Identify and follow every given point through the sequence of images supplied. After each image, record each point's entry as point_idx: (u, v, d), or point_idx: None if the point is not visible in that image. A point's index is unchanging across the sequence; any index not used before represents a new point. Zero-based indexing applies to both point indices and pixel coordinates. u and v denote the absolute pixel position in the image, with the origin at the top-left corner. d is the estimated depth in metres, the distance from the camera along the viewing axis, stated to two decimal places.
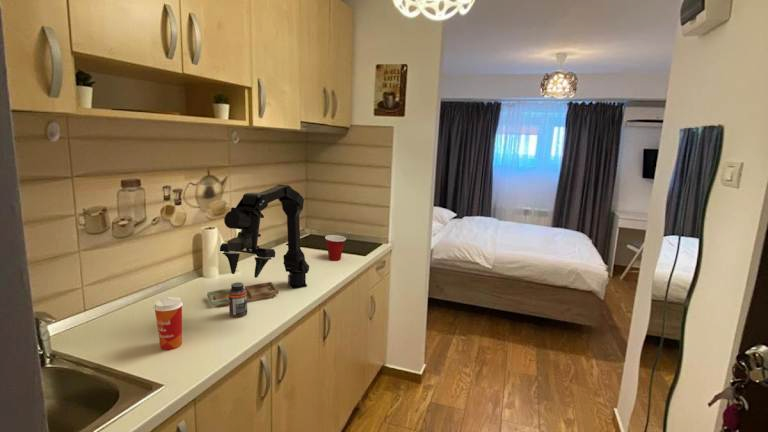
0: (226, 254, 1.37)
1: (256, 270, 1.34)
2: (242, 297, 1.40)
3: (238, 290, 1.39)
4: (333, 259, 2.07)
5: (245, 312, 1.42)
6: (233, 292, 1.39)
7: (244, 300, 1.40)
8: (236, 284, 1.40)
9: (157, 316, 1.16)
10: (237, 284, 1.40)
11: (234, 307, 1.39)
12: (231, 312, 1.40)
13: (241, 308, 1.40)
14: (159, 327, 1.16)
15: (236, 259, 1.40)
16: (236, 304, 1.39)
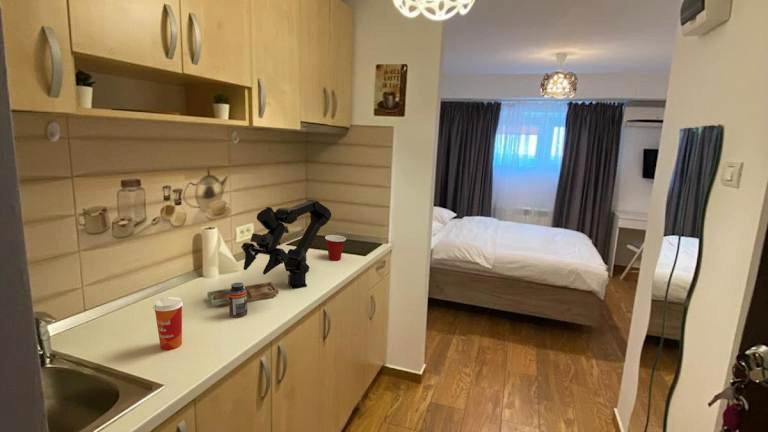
0: (246, 250, 1.51)
1: (266, 266, 1.46)
2: (242, 297, 1.40)
3: (238, 290, 1.39)
4: (333, 259, 2.07)
5: (245, 312, 1.42)
6: (233, 292, 1.39)
7: (244, 300, 1.40)
8: (236, 284, 1.40)
9: (157, 316, 1.16)
10: (237, 284, 1.40)
11: (234, 307, 1.39)
12: (231, 312, 1.40)
13: (241, 308, 1.40)
14: (159, 327, 1.16)
15: (252, 259, 1.53)
16: (236, 304, 1.39)
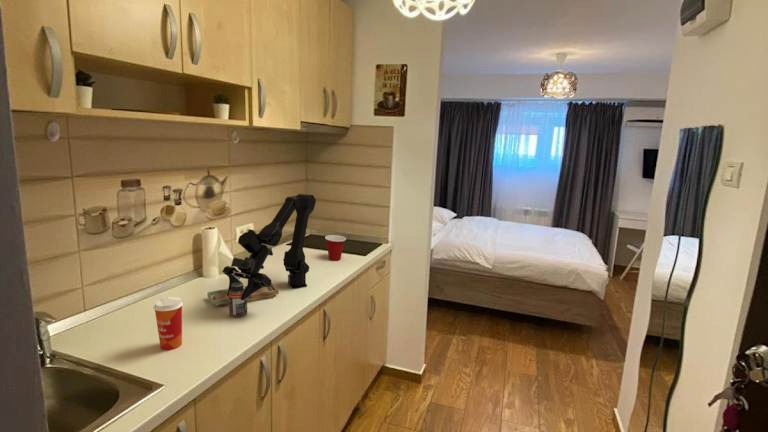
0: (230, 275, 1.43)
1: (245, 292, 1.39)
2: None
3: (238, 290, 1.39)
4: (333, 259, 2.07)
5: (245, 312, 1.42)
6: (233, 292, 1.39)
7: (244, 300, 1.40)
8: (236, 284, 1.40)
9: (157, 316, 1.16)
10: (237, 284, 1.40)
11: (234, 306, 1.39)
12: (231, 312, 1.40)
13: (241, 308, 1.40)
14: (159, 327, 1.16)
15: None
16: (236, 304, 1.39)
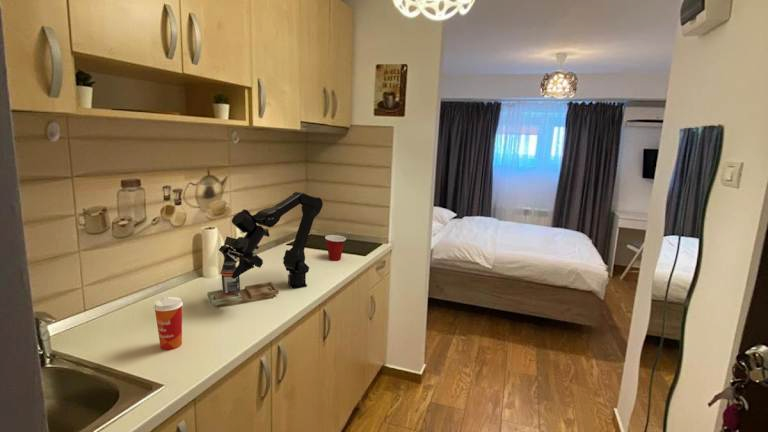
0: (224, 254, 1.46)
1: (235, 271, 1.41)
2: None
3: (230, 269, 1.41)
4: (333, 259, 2.07)
5: (237, 291, 1.43)
6: (224, 270, 1.41)
7: (235, 279, 1.42)
8: (228, 263, 1.42)
9: (157, 316, 1.16)
10: (229, 263, 1.42)
11: (225, 285, 1.41)
12: (223, 290, 1.42)
13: (233, 287, 1.42)
14: (159, 327, 1.16)
15: None
16: (227, 282, 1.41)
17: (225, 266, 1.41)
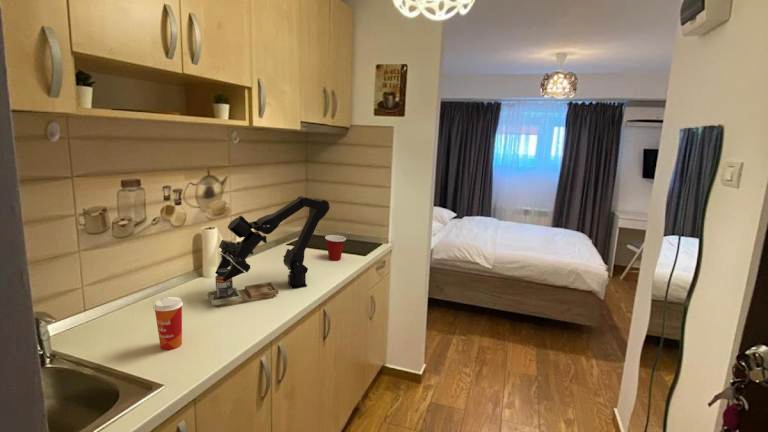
0: (221, 255, 1.57)
1: (226, 274, 1.48)
2: (224, 282, 1.50)
3: (221, 275, 1.50)
4: (333, 259, 2.07)
5: (228, 297, 1.52)
6: (217, 276, 1.50)
7: (226, 285, 1.50)
8: (222, 269, 1.52)
9: (157, 316, 1.16)
10: (223, 269, 1.51)
11: (217, 290, 1.51)
12: None
13: (223, 293, 1.51)
14: (159, 327, 1.16)
15: (227, 265, 1.57)
16: (219, 287, 1.50)
17: (218, 272, 1.50)
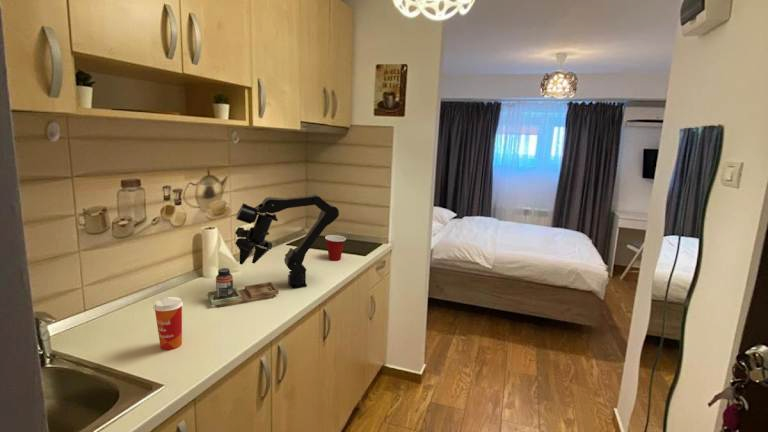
0: None
1: None
2: (225, 282, 1.50)
3: (222, 275, 1.50)
4: (333, 259, 2.07)
5: (228, 297, 1.52)
6: (217, 276, 1.50)
7: (226, 285, 1.51)
8: (223, 269, 1.52)
9: (157, 316, 1.16)
10: (223, 269, 1.51)
11: (217, 290, 1.51)
12: None
13: (224, 293, 1.51)
14: (159, 327, 1.16)
15: (260, 253, 1.66)
16: (219, 287, 1.50)
17: (218, 272, 1.50)
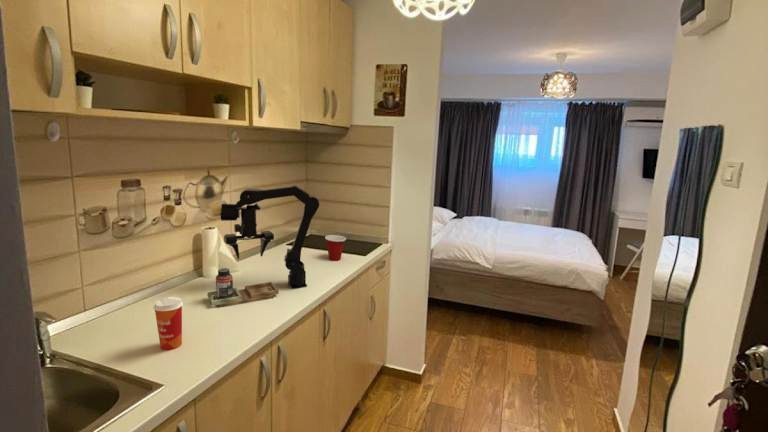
0: None
1: None
2: (225, 282, 1.50)
3: (222, 275, 1.50)
4: (333, 259, 2.07)
5: (228, 297, 1.52)
6: (217, 276, 1.50)
7: (226, 285, 1.51)
8: (222, 269, 1.52)
9: (157, 316, 1.16)
10: (223, 269, 1.51)
11: (217, 290, 1.51)
12: None
13: (224, 293, 1.51)
14: (159, 327, 1.16)
15: (262, 245, 1.66)
16: (219, 287, 1.50)
17: (218, 272, 1.50)
